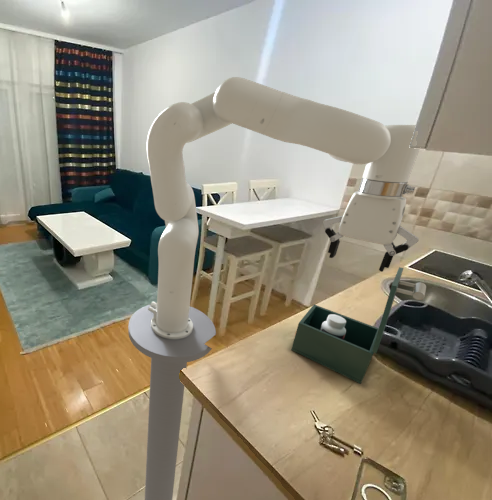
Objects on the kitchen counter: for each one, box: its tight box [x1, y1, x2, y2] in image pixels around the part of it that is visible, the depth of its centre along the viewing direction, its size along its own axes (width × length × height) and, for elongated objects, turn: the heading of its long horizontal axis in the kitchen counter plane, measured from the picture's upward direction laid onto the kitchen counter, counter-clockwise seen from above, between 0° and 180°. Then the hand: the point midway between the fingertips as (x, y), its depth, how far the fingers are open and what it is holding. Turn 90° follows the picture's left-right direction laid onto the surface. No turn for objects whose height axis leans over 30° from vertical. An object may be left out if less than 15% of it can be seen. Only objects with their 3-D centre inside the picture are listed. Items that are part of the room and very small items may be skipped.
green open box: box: [290, 304, 379, 385], centre depth 75 cm, size 16×13×9 cm
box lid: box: [372, 266, 427, 354], centre depth 63 cm, size 16×13×5 cm
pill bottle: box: [320, 314, 346, 340], centre depth 75 cm, size 5×5×10 cm
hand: (355, 262), depth 67 cm, fingers open, 9 cm apart
